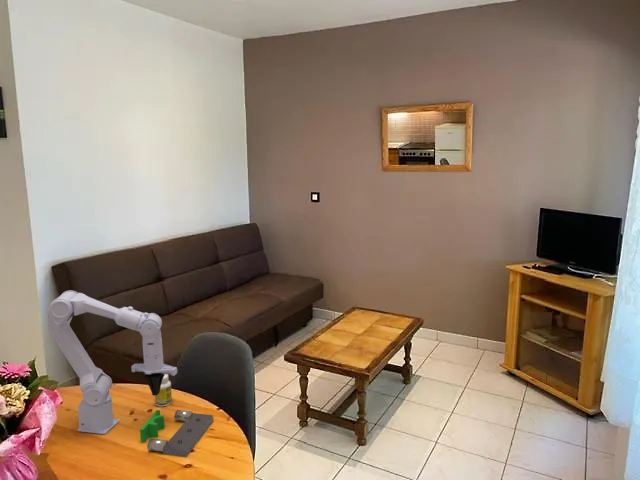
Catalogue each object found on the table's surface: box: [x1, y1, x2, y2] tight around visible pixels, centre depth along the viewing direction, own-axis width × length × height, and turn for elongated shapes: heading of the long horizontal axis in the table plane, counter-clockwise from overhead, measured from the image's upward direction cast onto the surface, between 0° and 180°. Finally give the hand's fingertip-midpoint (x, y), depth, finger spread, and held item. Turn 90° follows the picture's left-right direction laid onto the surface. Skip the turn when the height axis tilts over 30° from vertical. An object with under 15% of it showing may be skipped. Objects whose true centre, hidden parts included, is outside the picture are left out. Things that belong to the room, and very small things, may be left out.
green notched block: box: [139, 409, 166, 444], centre depth 151 cm, size 11×4×5 cm, turn 173°
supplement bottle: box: [154, 374, 173, 407], centre depth 168 cm, size 5×5×10 cm
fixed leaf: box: [146, 409, 214, 458], centre depth 149 cm, size 12×19×3 cm, turn 169°
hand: (156, 394), depth 155 cm, fingers closed
